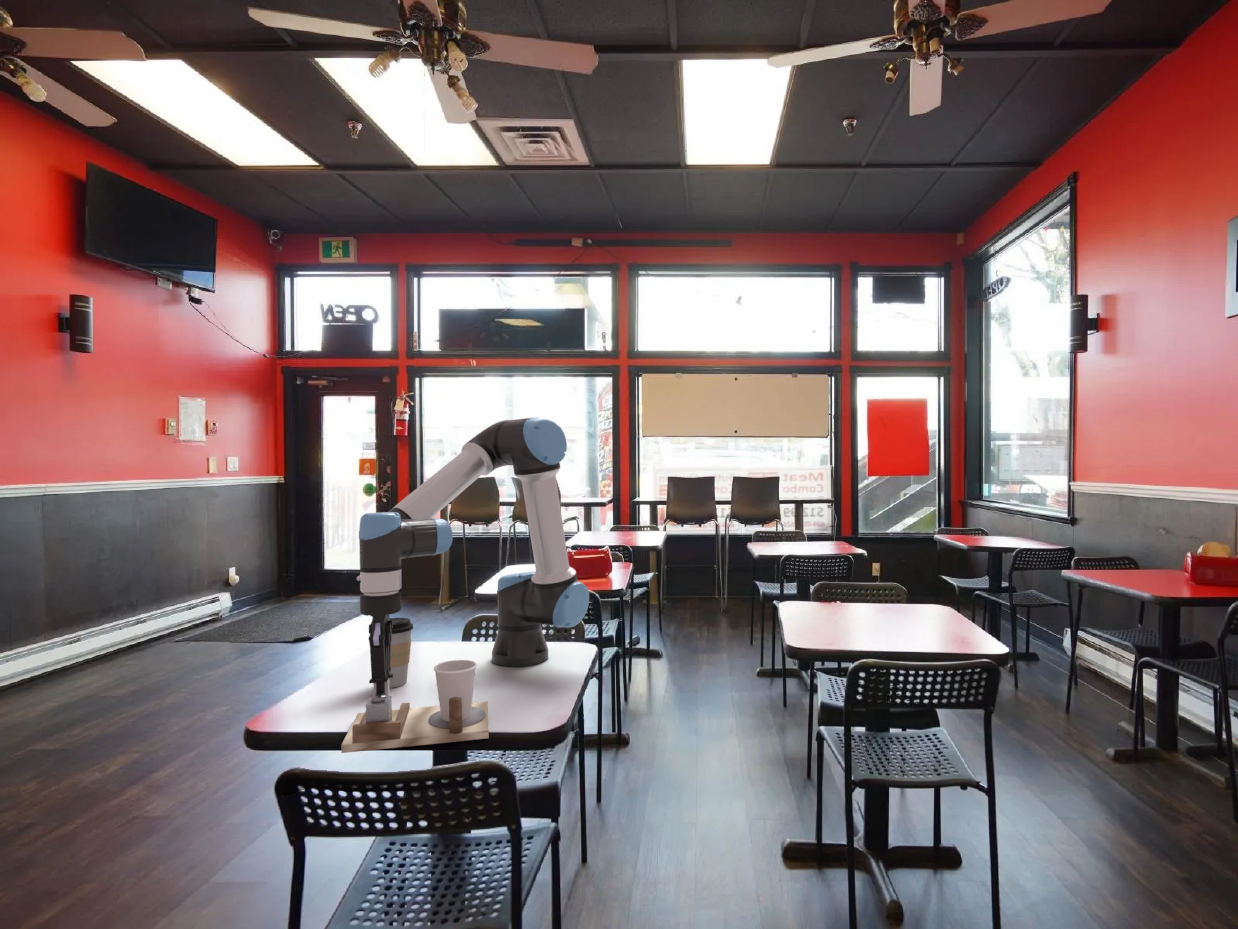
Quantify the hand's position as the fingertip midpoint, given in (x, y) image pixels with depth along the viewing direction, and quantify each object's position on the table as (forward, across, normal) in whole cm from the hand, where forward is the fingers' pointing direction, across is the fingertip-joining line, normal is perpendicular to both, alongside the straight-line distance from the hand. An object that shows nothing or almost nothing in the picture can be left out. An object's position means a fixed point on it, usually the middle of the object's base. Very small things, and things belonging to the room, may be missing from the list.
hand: (381, 714), depth 124 cm
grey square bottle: (+2, +4, 0) cm, 4 cm away
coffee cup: (+4, -32, -2) cm, 32 cm away
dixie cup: (+2, -1, +14) cm, 14 cm away
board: (+4, -1, +7) cm, 8 cm away
